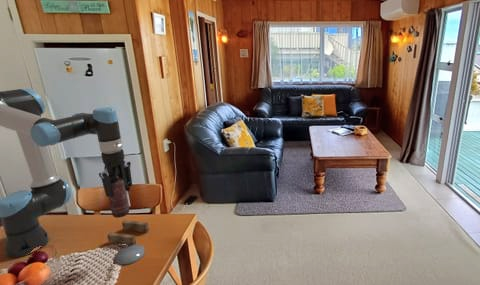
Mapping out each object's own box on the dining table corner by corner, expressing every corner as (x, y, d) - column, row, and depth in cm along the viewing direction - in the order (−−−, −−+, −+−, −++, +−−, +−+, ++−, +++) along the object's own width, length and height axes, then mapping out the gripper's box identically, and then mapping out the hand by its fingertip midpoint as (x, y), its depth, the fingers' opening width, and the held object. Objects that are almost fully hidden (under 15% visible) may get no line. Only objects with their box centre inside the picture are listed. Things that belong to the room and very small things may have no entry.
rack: (108, 243, 123) (107, 235, 122) (125, 227, 134) (124, 220, 133) (133, 246, 120) (132, 238, 119) (148, 230, 131) (147, 222, 130)
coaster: (109, 262, 111) (108, 260, 111) (126, 245, 121) (126, 243, 121) (134, 266, 108) (133, 264, 108) (150, 248, 118) (149, 246, 118)
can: (133, 210, 114) (127, 177, 110) (121, 219, 108) (115, 184, 104) (120, 208, 116) (114, 176, 112) (108, 216, 110) (102, 182, 106)
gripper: (101, 158, 97) (114, 220, 104) (136, 144, 112) (145, 199, 118) (85, 157, 100) (98, 217, 107) (121, 143, 115) (130, 197, 121)
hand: (123, 208), depth 112 cm, fingers open, 3 cm apart
